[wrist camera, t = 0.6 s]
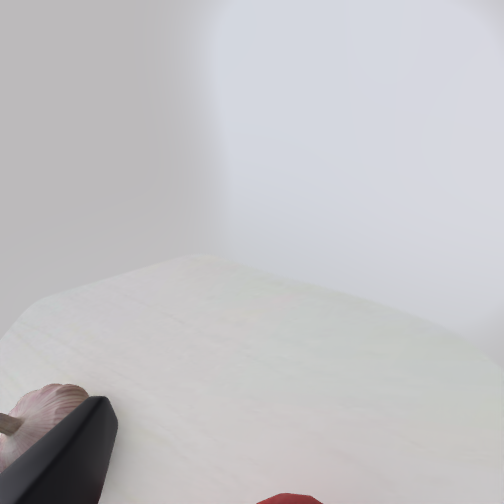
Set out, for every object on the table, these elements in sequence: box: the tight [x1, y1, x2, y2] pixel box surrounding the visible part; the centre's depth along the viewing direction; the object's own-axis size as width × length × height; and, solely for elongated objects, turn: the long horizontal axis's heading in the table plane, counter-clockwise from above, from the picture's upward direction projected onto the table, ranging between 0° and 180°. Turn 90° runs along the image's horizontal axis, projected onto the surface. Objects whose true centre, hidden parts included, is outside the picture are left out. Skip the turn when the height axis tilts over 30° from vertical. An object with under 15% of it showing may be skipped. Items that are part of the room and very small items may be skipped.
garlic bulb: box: [0, 384, 89, 473], centre depth 31 cm, size 8×7×8 cm
